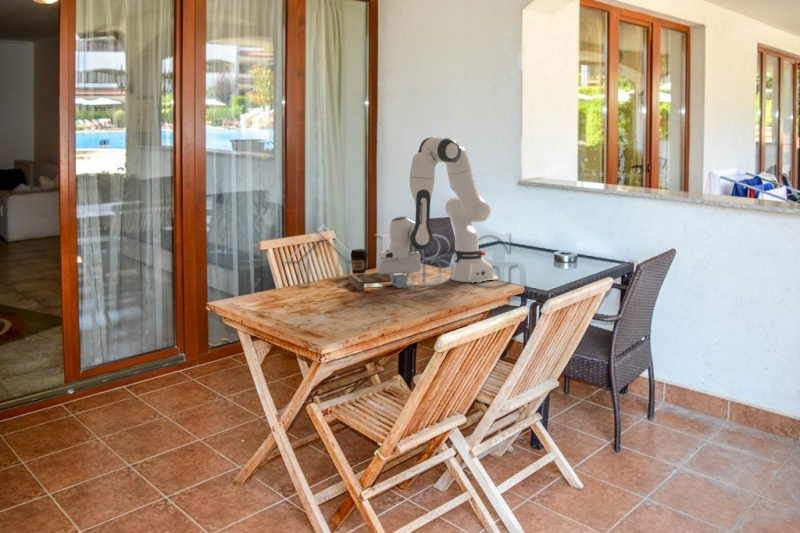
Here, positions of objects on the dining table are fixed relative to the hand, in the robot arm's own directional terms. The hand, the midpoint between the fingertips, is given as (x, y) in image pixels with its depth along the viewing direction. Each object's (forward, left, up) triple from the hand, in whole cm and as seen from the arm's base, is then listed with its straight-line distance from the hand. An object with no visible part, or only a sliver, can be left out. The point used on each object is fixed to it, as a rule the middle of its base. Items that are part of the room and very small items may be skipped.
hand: (399, 282), depth 345 cm
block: (0, 0, -2) cm, 2 cm away
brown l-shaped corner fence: (+9, -5, -2) cm, 10 cm away
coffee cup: (+11, -27, -2) cm, 29 cm away
